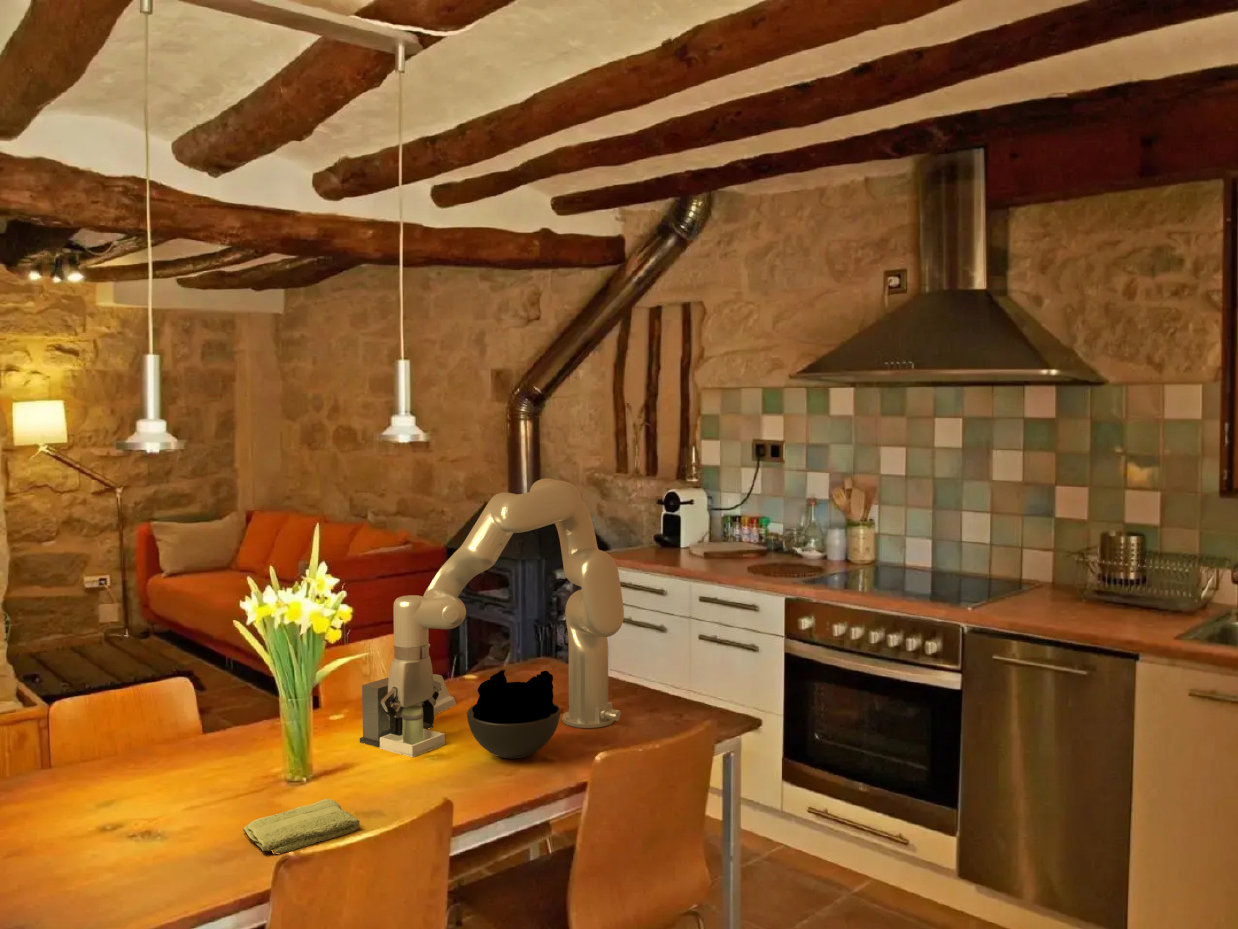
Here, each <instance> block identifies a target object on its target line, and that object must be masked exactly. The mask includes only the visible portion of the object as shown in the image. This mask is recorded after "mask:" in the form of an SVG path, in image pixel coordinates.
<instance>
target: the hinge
mask: <svg viewBox="0 0 1238 929" xmlns="http://www.w3.org/2000/svg"><path fill="white" fill-rule="evenodd" d="M433 680H434V681H437V682H439V683H441V688H440V691H439V692H438V693H439V696H438V698H437V699H436V705H435V706H434V715H436V714H438V713H439V712H441V711H443V712H446V711H447V710H449V709H451V708H453V707H455V706H457V702H456V699H455V697H453V696H452V695H450V693H449V690H448V687H447V685H446V682H445V681H444V677H443V676H442V675H441V674H434V673H433ZM454 705H455V706H454ZM452 706H453V707H452ZM450 707H451V708H450ZM448 708H449V709H448ZM441 713H442V712H441ZM439 714H440V713H439ZM439 714H438V715H439ZM436 716H437V715H436Z"/></svg>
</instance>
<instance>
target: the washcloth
mask: <svg viewBox="0 0 1238 929" xmlns="http://www.w3.org/2000/svg"><path fill="white" fill-rule="evenodd" d="M360 822H361V821H360V820H359V819H358V818H356V817H355V816H354V815H353V814H351V813H349V812H348V811H346V810H343V809H342V807H341V805H340V804H339V803H338V802H337V801H335V799H334V800H333V799H331V798H325V799H322V800H319V801H316V802H315V803H311V804H308V805H302V806H298V807H295V808H292V809H289V810H286V811H283V812H280V813H276V814H272V815H268V816H263V817H260V818H257V819H254V820H252V821H250V822H249V823H248V824H246V825H245V826H244V827H243V828H242V831H243V832H244V833H246V835H247V836H248V837H249V839H250V840H251V841H252V842H253V843H254V842H255V843H254V844H255V845H257V847H259V848H260V849H261V851H263V852H265V851H266V852H271V851H270V850H273V852H274V854H276V853H282V854H284V852H285V853H287V852H288V853H289V852H292V851H295V850H297V849H298V850H299V849H301V848H300V847H302V848H304V847H308V846H310V845H309V844H311V845H314V844H313V843H315V844H317V843H316V842H319V843H321V842H320V841H322V842H325V841H329V840H331V839H335V838H337V837H341V836H346V835H348V834H352V833H354V832H355V831H357V830H358V829H359V827H360V825H361V824H360Z"/></svg>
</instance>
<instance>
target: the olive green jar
mask: <svg viewBox="0 0 1238 929" xmlns="http://www.w3.org/2000/svg"><path fill="white" fill-rule="evenodd" d="M402 719H403V743H406V744H410V745H414V744H416V743H419V742H422V741H423V707H421V706H416V705H414V706H408V707H404V709H403V713H402Z"/></svg>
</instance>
